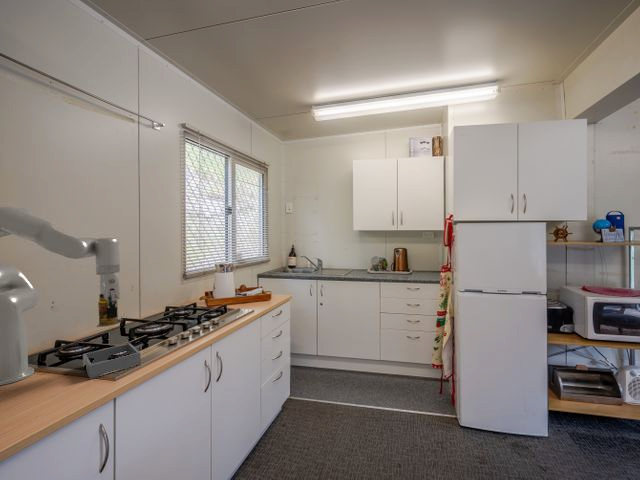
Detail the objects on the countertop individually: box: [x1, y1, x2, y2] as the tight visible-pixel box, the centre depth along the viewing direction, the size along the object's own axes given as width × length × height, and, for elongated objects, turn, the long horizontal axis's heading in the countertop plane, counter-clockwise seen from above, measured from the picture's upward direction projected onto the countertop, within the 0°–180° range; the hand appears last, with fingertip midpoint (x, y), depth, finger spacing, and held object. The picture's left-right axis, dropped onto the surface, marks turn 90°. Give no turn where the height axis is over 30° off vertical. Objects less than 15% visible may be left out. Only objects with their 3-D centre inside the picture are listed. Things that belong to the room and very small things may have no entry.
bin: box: [82, 342, 142, 380], centre depth 120 cm, size 16×15×5 cm
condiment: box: [96, 293, 123, 328], centre depth 120 cm, size 7×8×12 cm
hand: (110, 315), depth 120 cm, fingers closed on condiment, 6 cm apart
